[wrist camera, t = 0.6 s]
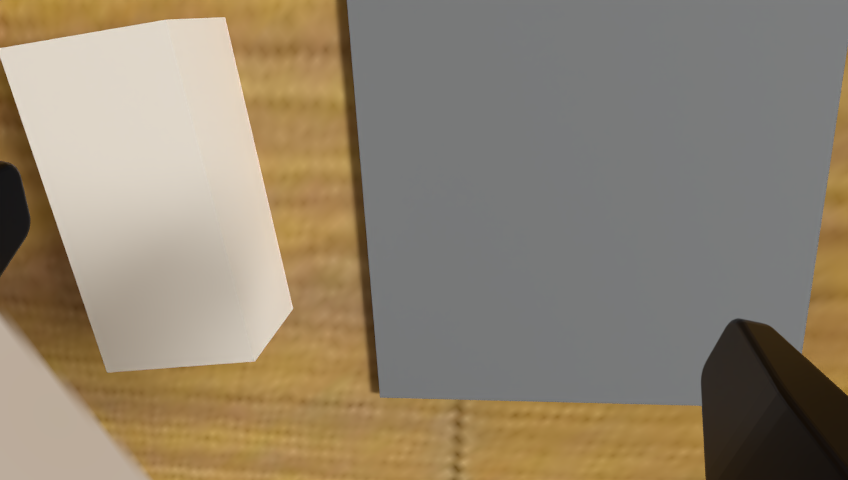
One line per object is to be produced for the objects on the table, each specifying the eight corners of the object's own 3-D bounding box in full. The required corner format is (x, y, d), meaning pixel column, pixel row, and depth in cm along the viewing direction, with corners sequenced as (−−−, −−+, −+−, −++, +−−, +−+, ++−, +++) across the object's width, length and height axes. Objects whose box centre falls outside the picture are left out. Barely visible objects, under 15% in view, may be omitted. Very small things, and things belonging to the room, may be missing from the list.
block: (295, 305, 24) (254, 361, 20) (168, 317, 25) (106, 372, 21) (228, 17, 21) (166, 19, 17) (85, 41, 22) (-3, 48, 18)
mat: (788, 401, 23) (793, 408, 22) (382, 391, 24) (380, 397, 24) (879, -221, 17) (888, -227, 16) (335, -171, 19) (332, -175, 18)
